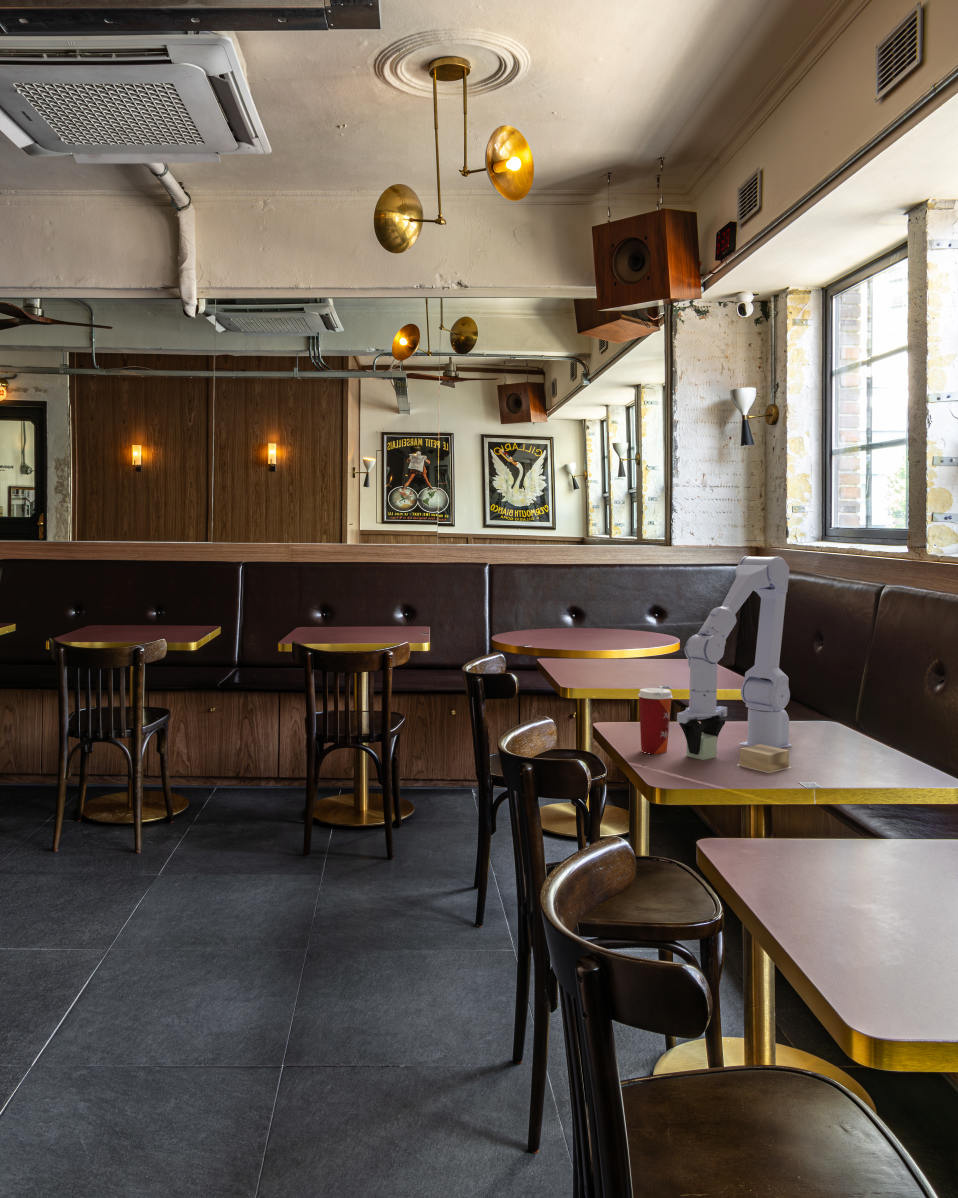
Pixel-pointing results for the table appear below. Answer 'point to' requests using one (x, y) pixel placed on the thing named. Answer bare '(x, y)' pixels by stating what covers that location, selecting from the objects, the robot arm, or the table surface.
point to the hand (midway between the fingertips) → (701, 752)
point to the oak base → (764, 757)
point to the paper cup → (654, 719)
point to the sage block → (706, 747)
